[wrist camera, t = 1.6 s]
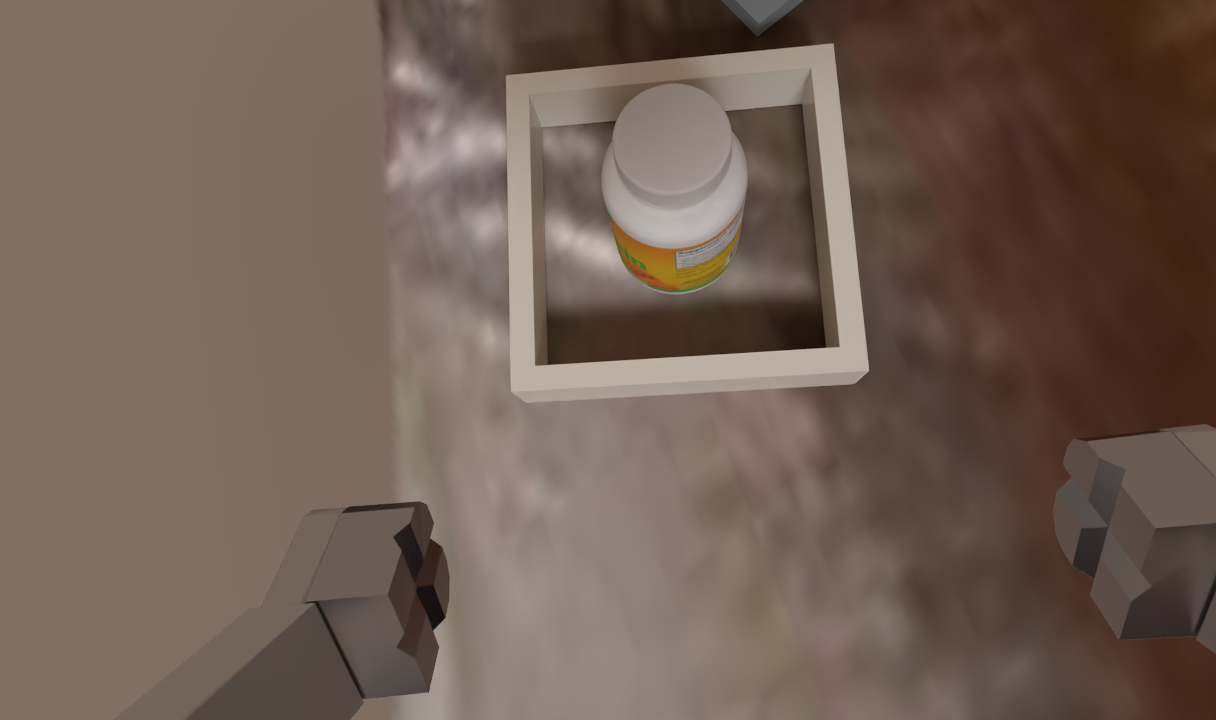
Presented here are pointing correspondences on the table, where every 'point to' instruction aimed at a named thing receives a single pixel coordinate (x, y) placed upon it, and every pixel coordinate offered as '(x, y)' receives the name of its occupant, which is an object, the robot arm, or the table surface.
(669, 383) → the bin
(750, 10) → the pad
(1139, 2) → the table surface
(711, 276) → the supplement bottle
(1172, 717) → the table surface
